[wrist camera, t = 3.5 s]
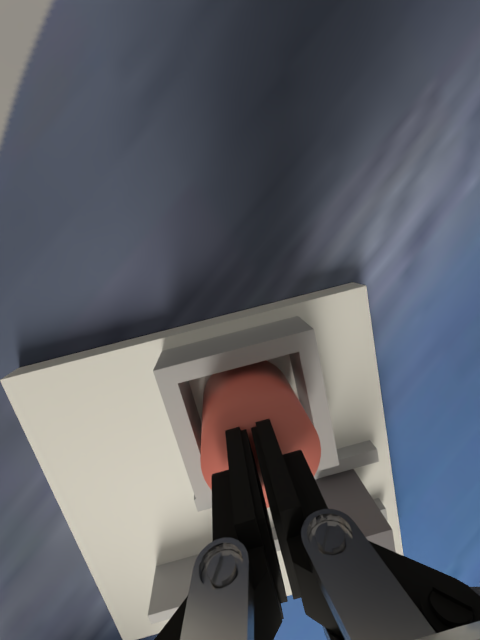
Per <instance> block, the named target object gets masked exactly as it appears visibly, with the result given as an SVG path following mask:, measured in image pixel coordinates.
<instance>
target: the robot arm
mask: <svg viewBox="0 0 480 640" xmlns="http://www.w3.org/2000/svg"><path fill="white" fill-rule="evenodd" d="M255 423H256V427H252V428H251V431H252V435H253V440H254V444H255V448H256V452H257V457H258V461H259V465H260V469H261V474H262V478H263V482H264V486H265V491H266V495H267V499H268V503H269V507H270V512H271V516H272V520H273V523H274V527H275V531H276V535H277V538H278V542H279V546H280V550H281V554H282V557H283V561H284V565H285V569H286V572H287V576H288V580H289V584H290V588H291V591H292V595H293V599H297V598H300V597H301V598H302V602H303V606H304V610H305V613H306V615H308V616H309V617H311V618H312V619H313V620H315V621H316V622H318V623H319V624H321V625H322V626H323V629H324V633H325V635H326V638H327V640H480V587H469V586H468V585H466V584H464V583H462V582H461V581H459V580H457V579H455V578H453V577H451V576H448V575H446V574H444V573H442V572H439V571H437V570H435V569H432V568H430V567H428V566H426V565H423V564H421V563H419V562H416V561H414V560H412V559H409V558H407V557H405V556H403V555H400V554H398V553H396V552H393V551H391V550H389V549H387V548H384V547H382V546H380V545H377V544H375V543H373V542H371V541H368V540H367V538H366V537H365V536H364V534H363V533H362V532H361V530H360V529H359V527H358V526H357V525H356V523H355V522H354V521H353V520H352V519H351V518H350V517H349V516H348V515H347V514H345V513H343V512H341V511H339V510H335V509H328V507H327V505H326V502H325V500H324V498H323V496H322V494H321V492H320V489H319V487H318V485H317V483H316V481H315V478H314V476H313V474H312V472H311V470H310V467H309V465H308V463H307V461H306V459H305V457H304V454H303V452H302V450H297V451H293V452H290V453H286V454H283V455H282V452H281V449H280V446H279V444H278V441H277V438H276V435H275V432H274V430H273V427H272V424H271V421H270V419H266V420H262V421H258V422H255ZM225 435H226V445H227V456H228V466H229V470H225V471H221V472H218V473H214V474H212V479H211V480H212V538H213V542H211V543H209V544H208V545H207V546H206V547H205V548H204V549H203V550H202V551H201V552H200V554H199V555H198V557H197V558H196V561H195V564H194V567H193V571H192V576H191V582H190V587H189V593H188V596H187V597H186V599H185V600H184V601H183V603H182V604H181V605H180V606H179V608H178V609H177V610H176V612H175V613H174V614H173V616H172V617H171V618H170V620H169V621H168V622H167V624H166V625H165V626H164V628H163V629H162V630H161V631H160V633H159V634H158V635H157V637H156V638H155V639H154V640H274V637H275V635H276V633H277V631H278V629H279V627H280V625H281V623H282V619H284V618H283V613H282V608H281V603H283V602H287V596H286V591H285V587H284V582H283V578H282V573H281V569H280V565H279V560H278V556H277V551H276V547H275V542H274V538H273V533H272V529H271V525H270V520H269V516H268V511H267V507H266V502H265V498H264V494H263V490H262V486H261V482H260V479H259V475H258V471H257V467H256V464H255V460H254V456H253V452H252V449H251V445H250V441H249V437H248V434H247V430H246V429H245V430H241V429H240V427H236V428H233V429H229V430H225Z"/></svg>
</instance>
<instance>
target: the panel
mask: <svg viewBox="0 0 480 640" xmlns="http://www.w3.org/2000/svg"><path fill="white" fill-rule="evenodd" d="M265 360H266V361H268V362H270V363H272V364H274V365H275V366H276V367H278V368H279V369H280V370H281V371H282V373H283V374H284V375H285V377H286V379H287V380H288V382H289V384H290V386H291V387H292V389H293V391H294V393H295V394H296V396H297V398H298V400H299V401H300V403H301V405H302V407H303V408H304V410H305V412H306V413H307V415H308V417H309V419H310V420H311V422H312V424H313V426H314V427H315V429H316V431H317V434H318V436H319V439H320V444H321V458H320V463H319V466H318V469H317V472H316V474H315V476H314V478H315V479H318V478H322V477H325V476H329V475H332V474H336V473H340V472H343V471H347V470H350V469H354V470H355V472H356V474H357V475H358V477H359V478H360V480H361V481H362V483H363V484H364V486H365V488H366V489H367V491H368V492H369V494H370V495H371V497H372V498H373V500H374V502H375V503H376V505H377V506H378V508H379V509H380V511H381V512H382V514H383V516H384V517H385V519H386V520H387V522H388V523H389V525H390V526H391V528H392V530H393V537H394V544H395V551H396V553H398V554H400V555H403V549H402V541H401V534H400V527H399V520H398V512H397V505H396V498H395V491H394V484H393V476H392V469H391V462H390V455H389V447H388V440H387V433H386V426H385V418H384V411H383V404H382V397H381V390H380V382H379V375H378V368H377V361H376V353H375V346H374V339H373V332H372V324H371V317H370V310H369V303H368V296H367V288H366V286H365V285H361V284H357V283H354V282H352V283H348V284H344V285H340V286H336V287H332V288H328V289H324V290H320V291H316V292H313V293H309V294H305V295H301V296H297V297H293V298H289V299H285V300H281V301H277V302H274V303H270V304H266V305H262V306H258V307H254V308H250V309H246V310H242V311H238V312H235V313H231V314H227V315H223V316H219V317H215V318H211V319H207V320H203V321H199V322H196V323H192V324H188V325H184V326H180V327H176V328H172V329H168V330H164V331H160V332H157V333H153V334H149V335H145V336H141V337H137V338H133V339H129V340H125V341H121V342H118V343H114V344H110V345H106V346H102V347H98V348H94V349H90V350H86V351H82V352H79V353H75V354H71V355H67V356H63V357H59V358H55V359H51V360H47V361H43V362H40V363H36V364H32V365H28V366H24V367H20V368H18V369H16V370H15V371H13V372H11V373H10V374H8V375H7V376H5V377H4V378H2V379H1V380H0V381H1V383H2V385H3V388H4V390H5V392H6V394H7V396H8V398H9V400H10V402H11V405H12V407H13V409H14V411H15V413H16V415H17V417H18V419H19V421H20V424H21V426H22V428H23V430H24V432H25V434H26V436H27V438H28V440H29V443H30V445H31V447H32V449H33V451H34V453H35V455H36V457H37V459H38V462H39V464H40V466H41V468H42V470H43V472H44V474H45V476H46V479H47V481H48V483H49V485H50V487H51V489H52V491H53V493H54V495H55V498H56V500H57V502H58V504H59V506H60V508H61V510H62V512H63V514H64V517H65V519H66V521H67V523H68V525H69V527H70V529H71V531H72V534H73V536H74V538H75V540H76V542H77V544H78V546H79V548H80V550H81V553H82V555H83V557H84V559H85V561H86V563H87V565H88V567H89V569H90V572H91V574H92V576H93V578H94V580H95V582H96V584H97V586H98V588H99V591H100V593H101V595H102V597H103V599H104V601H105V603H106V605H107V608H108V610H109V612H110V614H111V616H112V618H113V620H114V622H115V624H116V627H117V629H118V631H119V633H120V635H121V637H122V639H123V640H137V639H140V638H144V637H147V636H151V635H154V634H158V633H160V631H161V630H162V629H163V628H164V626H165V625H166V624H167V622H168V621H169V620H170V618H171V617H172V616H173V614H174V613H175V612H176V610H177V609H178V608H179V606H180V605H181V604H182V603H183V601H184V600H185V599H186V597H187V596H188V593H189V587H190V582H191V576H192V571H193V567H194V564H195V561H196V558H197V557H198V555H199V554H200V552H201V551H202V550H203V549H204V548H205V547H206V546H207V545H208V544H209V543H211V542H213V538H212V490H211V489H210V488H209V486H208V485H207V483H206V481H205V479H204V477H203V474H202V470H201V462H200V457H201V433H202V409H203V393H204V389H205V386H206V384H207V382H208V380H209V378H210V377H211V375H212V374H216V373H220V372H223V371H227V370H231V369H235V368H239V367H242V366H246V365H250V364H254V363H258V362H261V361H265ZM267 511H268V516H269V520H270V525H271V529H272V533H273V538H274V542H275V547H276V551H277V556H278V560H279V565H280V569H281V573H282V578H283V582H284V587H285V591H286V596H289V595H292V591H291V588H290V584H289V580H288V576H287V572H286V569H285V565H284V561H283V557H282V554H281V550H280V546H279V542H278V538H277V535H276V531H275V527H274V523H273V520H272V516H271V512H270V507H269V508H267Z"/></svg>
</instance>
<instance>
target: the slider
mask: <svg viewBox="0 0 480 640" xmlns="http://www.w3.org/2000/svg"><path fill="white" fill-rule="evenodd" d="M315 481H316V483H317V485H318V487H319V489H320V492H321V494H322V496H323V498H324V500H325V502H326V505H327V507H328V509H335V510H339V511H341V512H343V513H345V514H347V515H348V516H349V517H350V518H351V519H352V520H353V521H354V522H355V523H356V525H357V526H358V527H359V529H360V530H361V532H362V533H363V534H364V536H365V537H366V538H367V540H368V541H371V542H373V543H375V544H377V545H380V546H382V547H384V548H387V549H389V550H391V551H393V552H396V551H395V544H394V537H393V530H392V528H391V526H390V525H389V523H388V522H387V520H386V519H385V517H384V516H383V514H382V512H381V511H380V509H379V508H378V506H377V505H376V503H375V502H374V500H373V498H372V497H371V495H370V494H369V492H368V491H367V489H366V488H365V486H364V484H363V483H362V481H361V480H360V478H359V477H358V475H357V474H356V472H355V470H354V469H350V470H347V471H343V472H340V473H336V474H332V475H329V476H325V477H322V478H318V479H315Z"/></svg>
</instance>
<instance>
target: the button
mask: <svg viewBox="0 0 480 640" xmlns="http://www.w3.org/2000/svg"><path fill="white" fill-rule="evenodd" d="M266 419H270V421H271V424H272V427H273V430H274V432H275V435H276V438H277V441H278V444H279V446H280V449H281V452H282V455H283V454H286V453H290V452H293V451H297V450H302V452H303V454H304V457H305V459H306V461H307V463H308V465H309V467H310V470H311V472H312V474H313V476H315V474H316V472H317V469H318V466H319V463H320V458H321V444H320V439H319V436H318V434H317V431H316V429H315V427H314V426H313V424H312V422H311V420H310V419H309V417H308V415H307V413H306V412H305V410H304V408H303V407H302V405H301V403H300V401H299V400H298V398H297V396H296V394H295V393H294V391H293V389H292V387H291V386H290V384H289V382H288V380H287V379H286V377H285V375H284V374H283V373H282V371H281V370H280V369H279V368H278V367H276V366H275V365H274V364H272V363H270V362H268V361H266V360H265V361H261V362H258V363H254V364H250V365H246V366H242V367H239V368H235V369H231V370H227V371H223V372H220V373H216V374H212V375H211V377H210V378H209V380H208V382H207V384H206V386H205V389H204V393H203V409H202V433H201V457H200V462H201V470H202V474H203V477H204V479H205V481H206V483H207V485H208V486H209V488H210V489H211V490H212V480H211V479H212V474H214V473H218V472H221V471H225V470H229V466H228V456H227V445H226V435H225V430H229V429H233V428H236V427H240V429H241V430H245V429H246V430H247V434H248V437H249V441H250V445H251V449H252V452H253V456H254V460H255V464H256V467H257V471H258V475H259V479H260V482H261V486H262V490H263V494H264V498H265V502H266V507H267V508H269V503H268V499H267V495H266V491H265V486H264V482H263V478H262V474H261V469H260V465H259V461H258V457H257V452H256V448H255V444H254V440H253V435H252V431H251V428H252V427H256V423H255V422H258V421H262V420H266Z"/></svg>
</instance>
